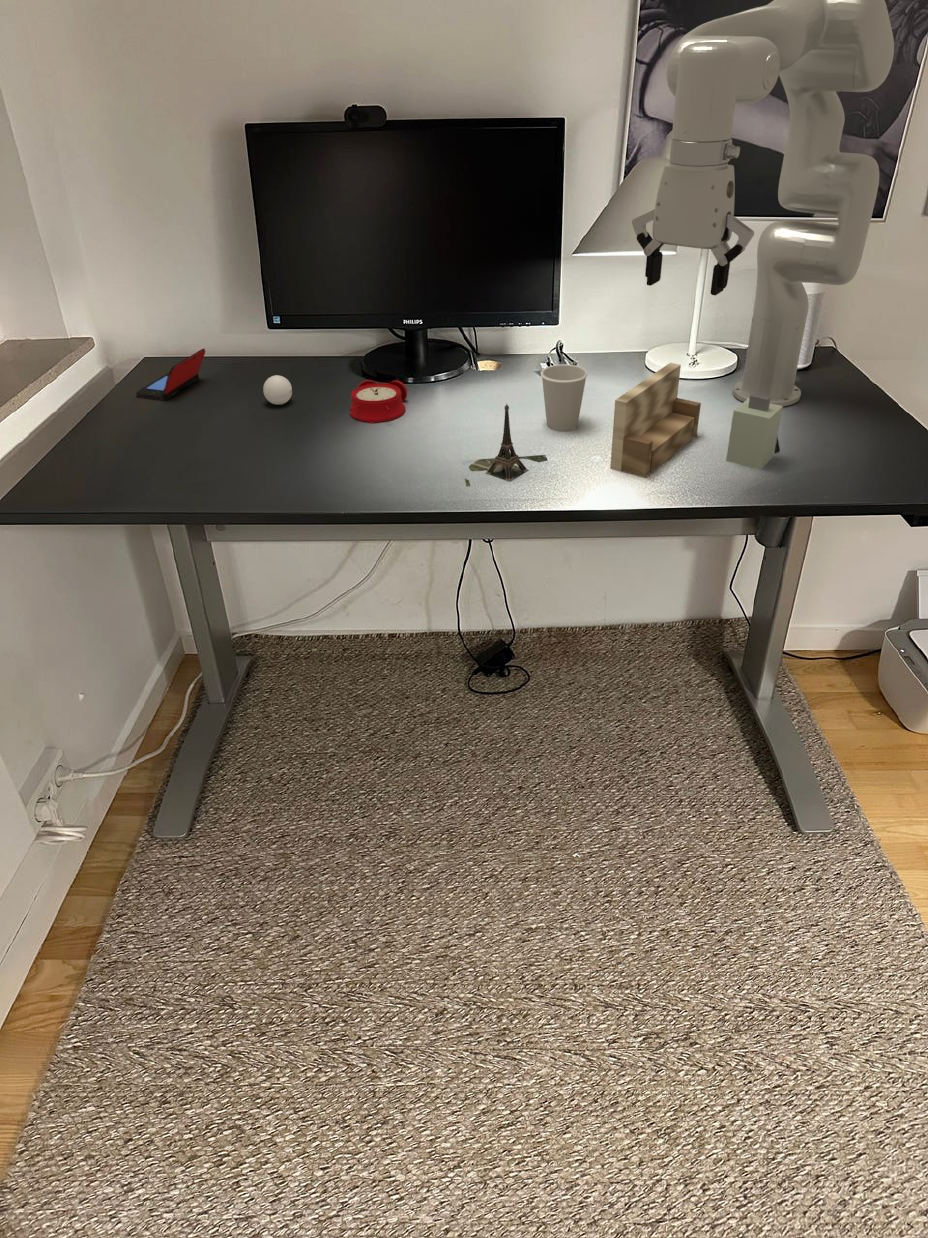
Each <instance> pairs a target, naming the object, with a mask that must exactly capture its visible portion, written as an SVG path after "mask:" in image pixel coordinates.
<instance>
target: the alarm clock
mask: <svg viewBox="0 0 928 1238" xmlns="http://www.w3.org/2000/svg"><path fill="white" fill-rule="evenodd" d="M407 397H408V389H407V386H406V385H405V384H404V382H402V381H399V380H392V381H390V382H381V383H380V382H379V383H378V382H375V381H373V380H372V379H370V380H369V379H367V380H363V381H362V382H360V383H359V385H358V387H356V388H354V389H353V390H352V391H351V406H350V408H349V414H350V417H352V418H354V419H355V420H358V421H361V422H367V423H369V424H372V425H373V424H374V425H375V423H380V422H387V421H392V420H395V419H397V418H399V417H401V416H403V415H404V414H405V413H406V405H405V404H404V402H405V400H407Z"/></svg>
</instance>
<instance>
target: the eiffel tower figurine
mask: <svg viewBox="0 0 928 1238" xmlns="http://www.w3.org/2000/svg"><path fill="white" fill-rule="evenodd" d="M509 410H510V406H509V405H508V404H506V405H504V420H503V421H504V422H503V434H502V435H503V436H502V440H501V443H500V449H499V451H498V454H497V455H496V456H495V457H492V458H481V459H477V460H476V461H474V462H473V463H471V464H469V466H468V469H469V471H471V472H484V471H486V472H485V473H484V474H486V475H488V476H492V477H494V478H498V479H500V480H503V481H506V482H508V483H510V482H512V481H514V480H516V479H517V478H519V477H521V476H522V475H524V474H526V473H528V472H529V471H530V470H529V469H528V468H527V467H526V466H525V464H524V463H523V462H522V461H521V460H529V461H533V462H536V463H538V464H539V463H542V462H546V461H549V460H548V458H547V454H538V455H537V454H535V455H525V456H524V455H523V456H519V455H518V454H517V453H516V450H515V448H514V445H513V441H512V437H511V427H510V425H511V424H510V415H509ZM520 459H521V460H520ZM464 481H465V486H466V487H471V483H470V480H469V479H467V478H464Z"/></svg>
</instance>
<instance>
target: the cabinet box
mask: <svg viewBox="0 0 928 1238" xmlns="http://www.w3.org/2000/svg"><path fill="white" fill-rule="evenodd" d="M770 399H771V397H766V396H762V395H757V394H752V395H751V396H750V399H747V400H746V401H745V402H743V401H742V403H741V404H740V405H738V406H737V407H736V408H735V409H733V413H732V419H731V425H730V426H731V427H730V432H729V439H728V445H727V452H726V458H725V462H729V463H734V464H737V465H741V466H744V467H749V468H752V469H756V470H762V469H763V467H765V466H766V465H767V464H768V462H769V461H771V460H772V459H773V458H774V457H775V456H774V455H775V453H774V452H775V446H776V441H777V436H778V437H779V435H778V434H779V430H780V424H781V418H782V413H783V408H784V406H780V405H775V404H770Z"/></svg>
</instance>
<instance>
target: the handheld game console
mask: <svg viewBox="0 0 928 1238" xmlns="http://www.w3.org/2000/svg"><path fill="white" fill-rule="evenodd" d="M205 355H206V348H202V349H200V350H198V351H196V352H195V353H193V354H191V355H190V356H188V357H187V358H185V359H183V360H182V361H180V362H179V363H177V364H175V365H173V366H172V367H171V368H170V370H169V372H167V373H166V374H164V375H162V376H161V377H158V378H156V379H155V380H154V381H152V382H150V383H149V384H147V385H146V386H144V387H142V388H140V389H139V390H137V391H136V393H135V394H136V397H137V398H139V399H140V398H141V399H147V400H148V399H150V400H156V401H157V400H158V401H162V402H167V401H168V400H170V398H172V397H173V396H175V395H177V394H178V393H180V391H181V390H183V389H182V388H184V387H186V388H188V387H189V386H191V385H192V384H194V383H195V382H198V381H199V379H200V375H199V373H200V368H201V366H202V364H203V360H204V358H205ZM190 384H191V385H190ZM187 386H188V387H187ZM180 389H181V390H180ZM184 389H185V388H184ZM179 390H180V391H179Z"/></svg>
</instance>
